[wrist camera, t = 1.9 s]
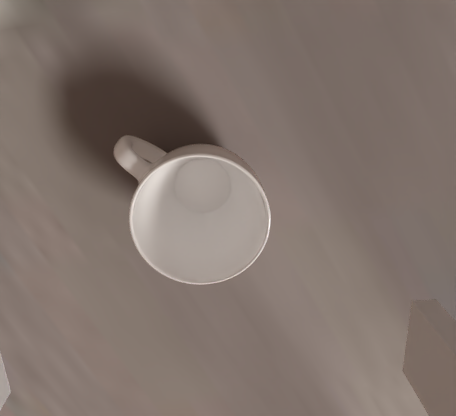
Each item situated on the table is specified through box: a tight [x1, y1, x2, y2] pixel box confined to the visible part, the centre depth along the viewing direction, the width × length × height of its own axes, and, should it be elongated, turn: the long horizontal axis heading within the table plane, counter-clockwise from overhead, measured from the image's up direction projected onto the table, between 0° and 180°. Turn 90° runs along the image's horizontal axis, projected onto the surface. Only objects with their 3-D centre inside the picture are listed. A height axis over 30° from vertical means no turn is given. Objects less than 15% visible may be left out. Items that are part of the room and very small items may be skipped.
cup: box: [113, 135, 271, 284], centre depth 26 cm, size 8×10×7 cm
